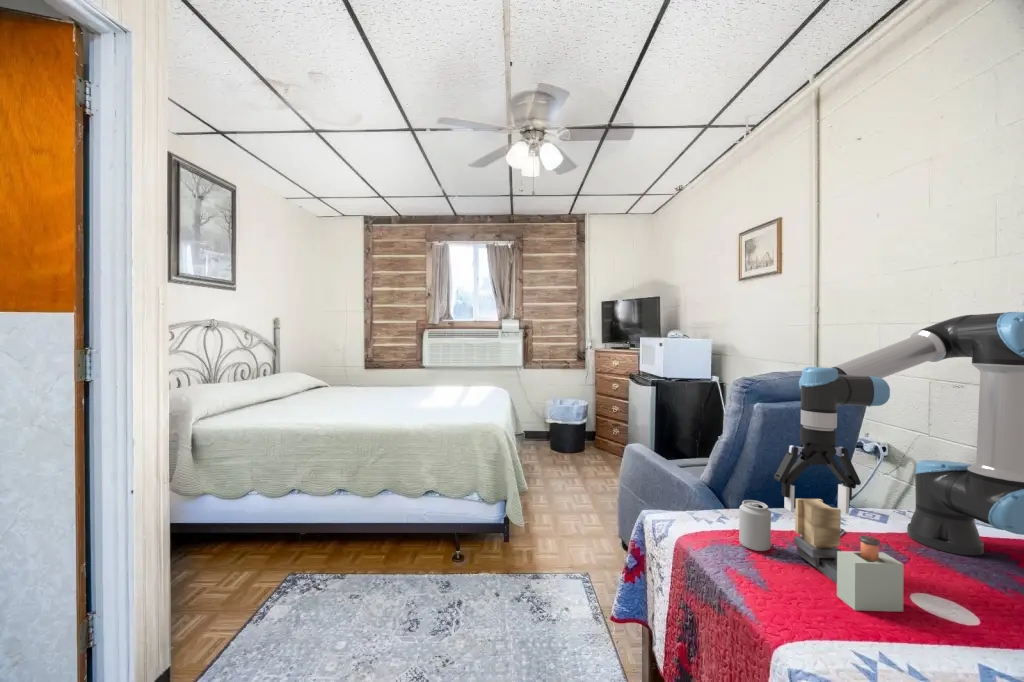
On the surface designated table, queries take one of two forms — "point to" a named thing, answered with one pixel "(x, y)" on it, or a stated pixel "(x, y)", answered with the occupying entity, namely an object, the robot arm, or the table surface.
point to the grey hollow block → (870, 582)
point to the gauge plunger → (869, 548)
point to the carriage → (817, 530)
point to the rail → (828, 568)
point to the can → (755, 525)
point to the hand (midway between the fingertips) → (816, 510)
